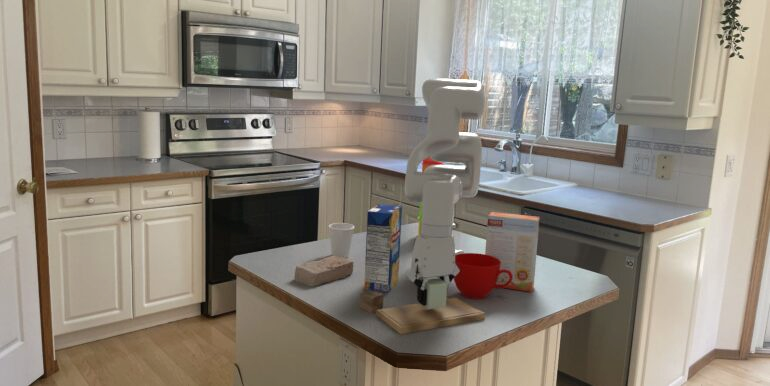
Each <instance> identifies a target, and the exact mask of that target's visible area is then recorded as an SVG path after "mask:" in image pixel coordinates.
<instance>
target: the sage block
mask: <svg viewBox="0 0 770 386" xmlns="http://www.w3.org/2000/svg"><path fill="white" fill-rule="evenodd" d="M422 280H423V279H422ZM425 289H426V290H427V302H426V306H424V307H426V308H427V309H433V308H439V307H445V306H446V299H447V298H448V287H447V282H445V281H443V280H441V279H439V278H438V277H432V278H428V282H427V285H426V288H425ZM421 305H422V304H421Z"/></svg>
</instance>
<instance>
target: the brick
mask: <svg viewBox="0 0 770 386" xmlns="http://www.w3.org/2000/svg"><path fill="white" fill-rule="evenodd" d="M353 273H354V261H353V260H352V259H350V258H348V257H347V258H343V257H337V256H332V255H331V256H326V257H325V258H321V259H320V260H315V261H310V262H305V263H302V264H299V265H296V266H295V269H294V281H296V282H299V283H302V284H304V285H307V286H309V287H316V286H319V285H323V284H326V283H328V282H329V283H330V282H333V281H335V280H339V279H342V278H345V277H348V276H350V275H352V274H353Z"/></svg>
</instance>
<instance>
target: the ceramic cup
mask: <svg viewBox="0 0 770 386" xmlns="http://www.w3.org/2000/svg"><path fill="white" fill-rule="evenodd" d="M455 264H456V265H457V267H458V268H459V270H460V271H459V273H458V274H457V275H456V276H454V279H453V282H454V284H455V286H456V288H457V290H458V291H459V293H461V295H462V296H463V297H466V298H468V299H469V298H470V299H473V300H479V299H484V298H486V297H487V296H488V295H489V294H490V293H491V292H492V291H493V290H494V289H501V288H502V287H505V286H507V285H509V284H510V283H511V281H512V278H513V276H512V273H511V272H510V271H509V270H505V269H504V270H500V264H501V262H500V260H499V259H497V258H495V257H493V256H489V255H485V253H475V252H472V253H471V252H464V253H463V254H458V255H455ZM503 272H505V273H508V274H509V277H510V278H509V281H508V282H507V283H505V284H503V285H496V282H497V280H498V276H499V274H501V273H503ZM502 289H503V288H502Z"/></svg>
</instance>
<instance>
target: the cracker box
mask: <svg viewBox="0 0 770 386" xmlns="http://www.w3.org/2000/svg"><path fill="white" fill-rule="evenodd" d="M539 227H540V216H533V215H526V214H525V215H523V214H516V213H504V212H495V211H491V212H490V213H489V214H488V215H487V227H486V237H485V249H484V251H485V252H484V254H485V255H489V256H493V257H495V258H497V259H499V260H500V262H501V264H500V270H504V269H505V270H509V271H510V272H511V273H512V276H513V278H512V281H511V283H510V284H509V285H507V286H505V287H502V289H511V290H517V291H523V292H528V293H530V292H533V289H534V286H535V275H536V265H537V263H536V262H537V250H538V241H539V240H538V239H539V230H540V229H539ZM509 278H510V277H509V274H508V273H505V272H503V273H501V274H499V276H498V280H497V282H496V285H503V284H505V283H507V282H508V281H509Z"/></svg>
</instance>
